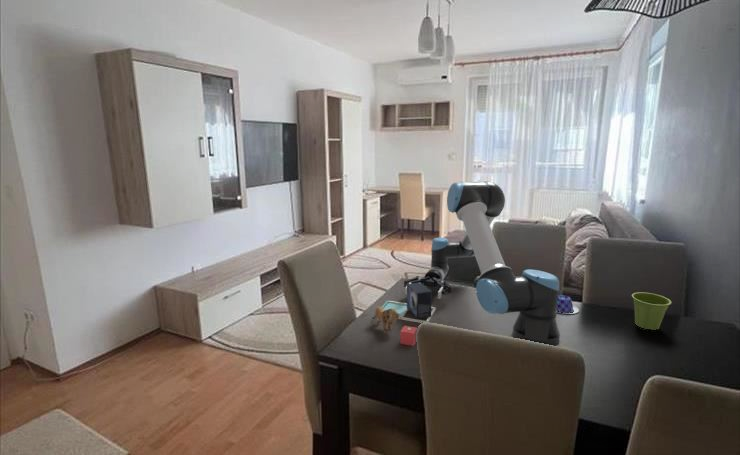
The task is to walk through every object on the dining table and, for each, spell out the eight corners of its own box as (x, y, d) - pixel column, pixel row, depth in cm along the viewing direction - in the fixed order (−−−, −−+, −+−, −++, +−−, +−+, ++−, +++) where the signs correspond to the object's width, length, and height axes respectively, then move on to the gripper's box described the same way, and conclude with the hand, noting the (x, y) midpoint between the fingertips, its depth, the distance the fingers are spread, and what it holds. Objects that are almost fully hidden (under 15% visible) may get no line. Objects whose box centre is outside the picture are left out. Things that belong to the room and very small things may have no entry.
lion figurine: (401, 332, 145) (402, 309, 143) (389, 336, 142) (390, 312, 140) (377, 318, 157) (377, 296, 155) (366, 321, 154) (366, 299, 152)
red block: (416, 340, 139) (417, 326, 138) (413, 346, 135) (413, 331, 134) (404, 337, 141) (404, 324, 140) (400, 343, 137) (400, 329, 136)
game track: (435, 309, 165) (435, 307, 164) (427, 323, 152) (427, 321, 152) (387, 302, 172) (387, 300, 172) (375, 315, 159) (375, 313, 159)
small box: (405, 308, 164) (405, 283, 162) (420, 306, 166) (421, 281, 164) (416, 319, 154) (416, 292, 152) (431, 316, 156) (432, 290, 154)
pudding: (578, 317, 158) (579, 305, 157) (544, 311, 163) (545, 299, 162) (578, 307, 168) (580, 295, 167) (547, 301, 174) (548, 290, 172)
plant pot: (620, 324, 152) (624, 295, 149) (639, 317, 157) (643, 290, 155) (654, 337, 141) (659, 307, 139) (673, 330, 147) (678, 301, 144)
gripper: (461, 288, 181) (452, 306, 161) (407, 281, 190) (393, 297, 170) (462, 272, 179) (453, 288, 160) (407, 266, 188) (393, 280, 169)
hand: (422, 293), depth 165 cm, fingers open, 13 cm apart
